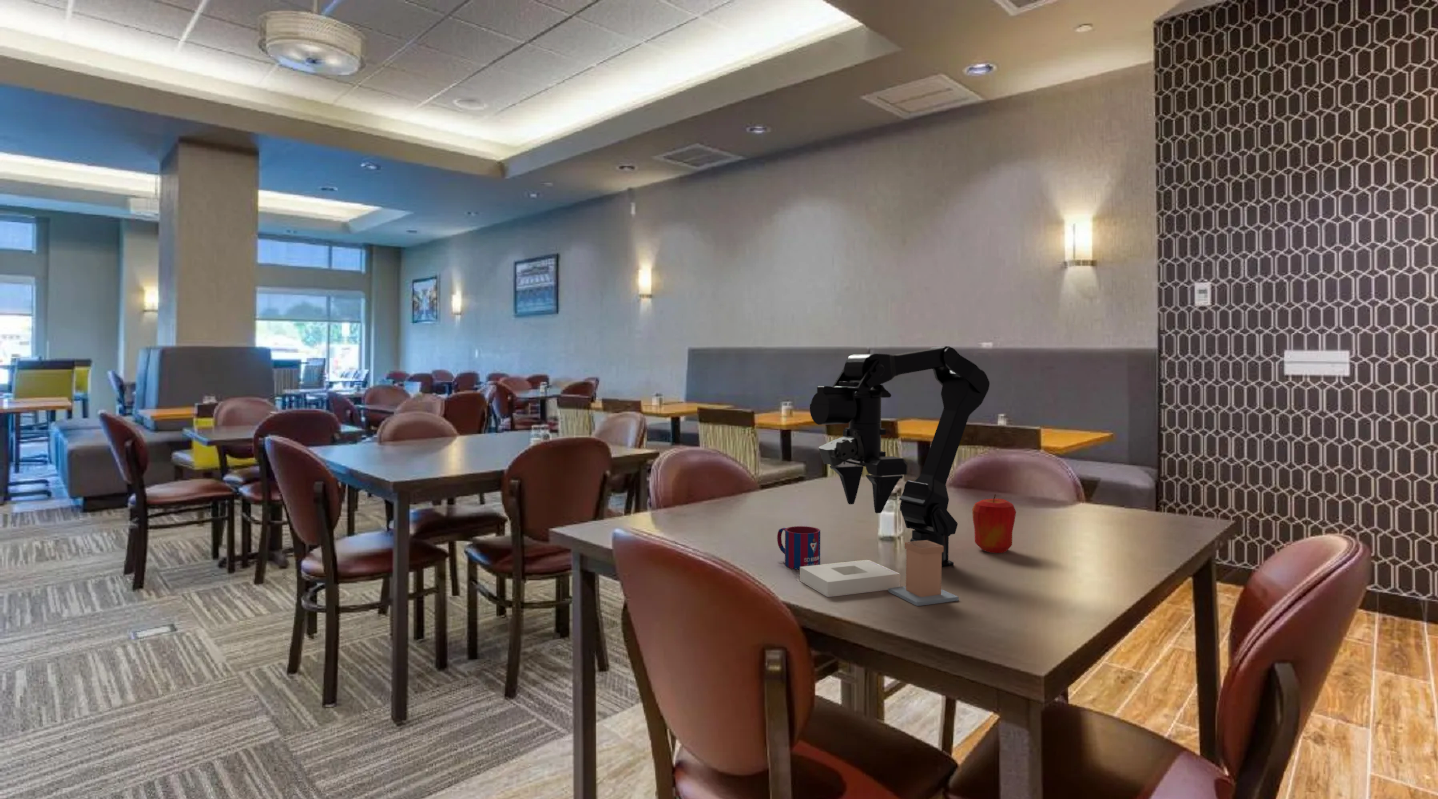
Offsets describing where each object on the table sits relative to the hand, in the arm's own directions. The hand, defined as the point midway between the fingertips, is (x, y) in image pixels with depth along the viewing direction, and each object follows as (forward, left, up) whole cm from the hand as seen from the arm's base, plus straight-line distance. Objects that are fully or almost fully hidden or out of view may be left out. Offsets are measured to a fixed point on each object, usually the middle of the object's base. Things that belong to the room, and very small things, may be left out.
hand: (864, 508), depth 135 cm
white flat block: (+6, +5, -12) cm, 14 cm away
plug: (-2, +15, -11) cm, 19 cm away
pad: (-2, +15, -12) cm, 19 cm away
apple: (-34, -6, -12) cm, 37 cm away
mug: (+8, -11, -12) cm, 18 cm away
